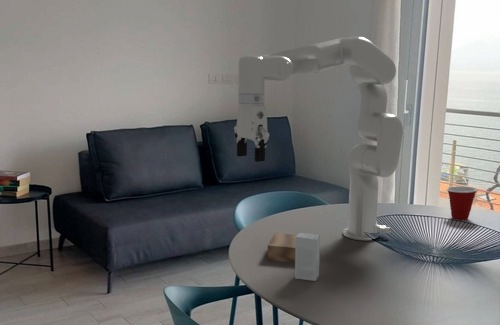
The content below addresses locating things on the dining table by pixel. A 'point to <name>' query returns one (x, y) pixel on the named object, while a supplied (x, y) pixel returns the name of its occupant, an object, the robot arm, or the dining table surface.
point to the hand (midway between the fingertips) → (250, 158)
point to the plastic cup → (461, 201)
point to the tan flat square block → (282, 248)
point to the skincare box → (307, 256)
